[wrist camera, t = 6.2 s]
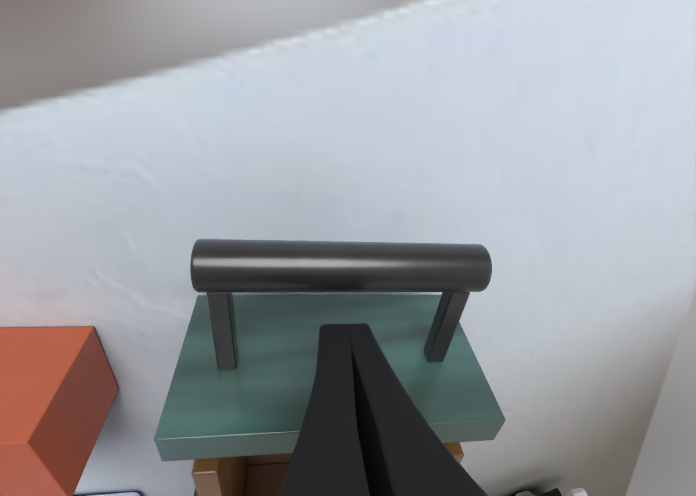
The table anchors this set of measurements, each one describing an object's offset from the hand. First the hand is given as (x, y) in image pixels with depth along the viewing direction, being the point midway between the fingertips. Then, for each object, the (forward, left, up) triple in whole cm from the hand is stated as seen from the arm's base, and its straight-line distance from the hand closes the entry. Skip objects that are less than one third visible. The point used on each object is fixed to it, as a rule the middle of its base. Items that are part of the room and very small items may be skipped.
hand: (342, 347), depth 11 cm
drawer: (0, -6, -4) cm, 7 cm away
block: (-12, -7, -5) cm, 15 cm away
